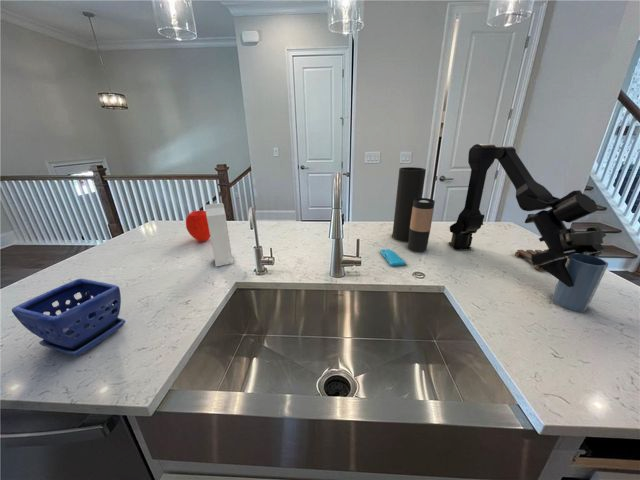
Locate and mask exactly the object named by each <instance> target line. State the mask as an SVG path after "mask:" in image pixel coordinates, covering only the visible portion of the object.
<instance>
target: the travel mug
mask: <svg viewBox="0 0 640 480" xmlns="http://www.w3.org/2000/svg"><path fill="white" fill-rule="evenodd" d="M435 203H436V201H435V200H434V199H431V198H427V197H422V198H416V199H414V201H413V208H412V215H411V222H410V230H409V240H408V242H407V249H408V250H409V251H411V252H414V253H424V252H426V251H427V248H428V245H429V239H430V233H431V229H432V221H433V215H434V209H435Z"/></svg>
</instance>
